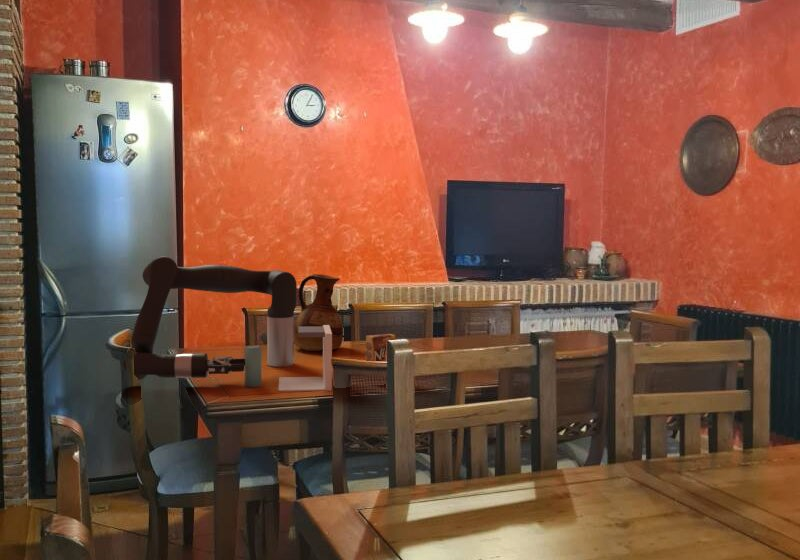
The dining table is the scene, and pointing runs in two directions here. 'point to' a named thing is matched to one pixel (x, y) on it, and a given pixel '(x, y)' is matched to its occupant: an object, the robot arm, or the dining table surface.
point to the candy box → (377, 346)
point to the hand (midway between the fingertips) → (244, 364)
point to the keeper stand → (326, 380)
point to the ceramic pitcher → (318, 314)
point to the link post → (253, 366)
